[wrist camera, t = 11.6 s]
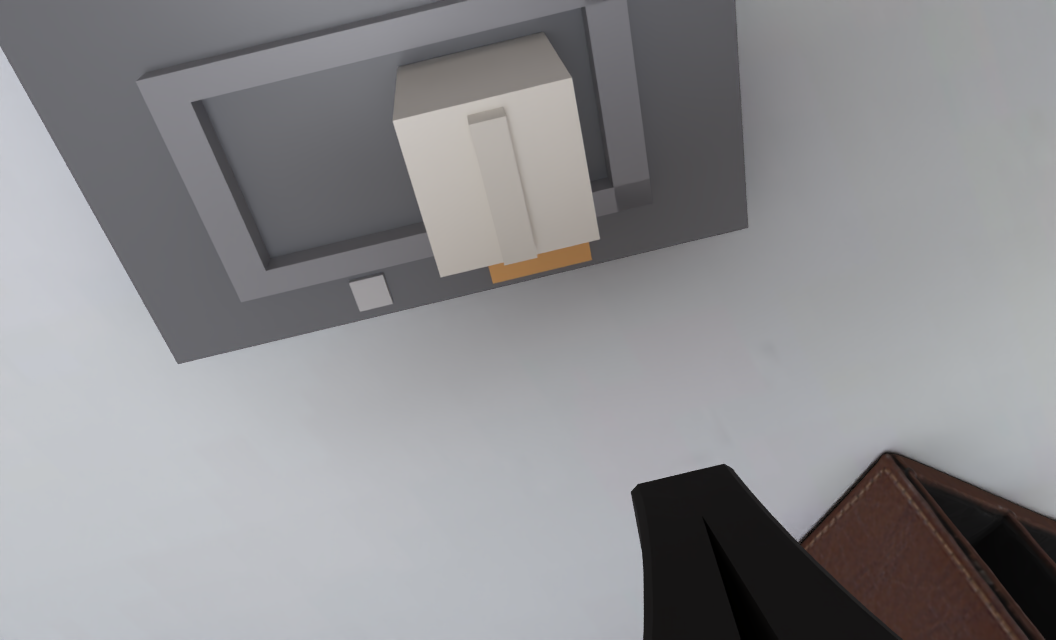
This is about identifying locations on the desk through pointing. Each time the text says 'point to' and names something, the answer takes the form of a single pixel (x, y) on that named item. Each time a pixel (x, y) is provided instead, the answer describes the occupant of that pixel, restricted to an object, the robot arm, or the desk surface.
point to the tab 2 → (495, 154)
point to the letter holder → (940, 556)
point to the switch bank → (354, 144)
